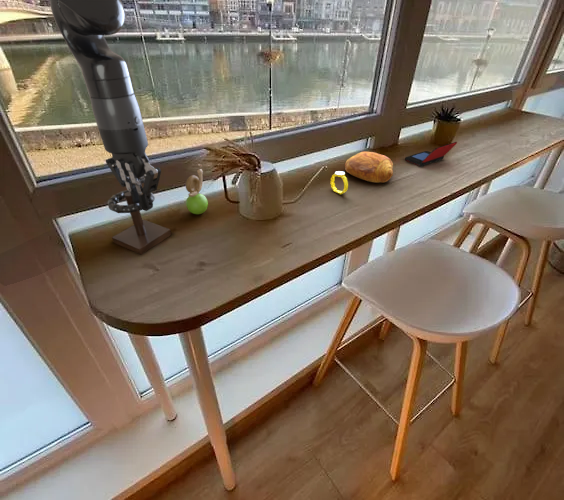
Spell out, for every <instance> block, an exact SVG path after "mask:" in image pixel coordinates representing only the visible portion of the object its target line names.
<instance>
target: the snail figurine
mask: <svg viewBox="0 0 564 500" xmlns="http://www.w3.org/2000/svg"><path fill="white" fill-rule="evenodd" d="M197 167H198V169H197V170H196V171H197V172H196V173H197V175H195V174H192V175H190V176H188V178H187V179H186V181H185V190H186V191H187V192H188V194H187V195H188V197H187V198H186V200H185V205H186V208H187V210H188V212H190V213H191V214H193V215H202V214H203V213H205V212H206V211H207V210H208V207H209V201H208V198H207V197H206V196H205V195H204V194H202V193H200V191H201V190H202V188H203V179H204V178H203V172H204V171H203V168H202V167H203V165H202V164H200V163H197Z"/></svg>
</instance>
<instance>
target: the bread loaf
mask: <svg viewBox="0 0 564 500" xmlns="http://www.w3.org/2000/svg"><path fill="white" fill-rule="evenodd" d="M393 167H394V163H393V161H392V160H391V158H389V157H388V156H386V155H383V154H380V153H377V152H375V151H374V152H373V151H364V150H363V151H361V152H358V153H356V154H354V155H353V156H350V157H349V158H348V159H346V161H345V164H344V169H345V171H346V172H345V173H348V174H349V175H351V176H353V177H355V178H358V179H360V180H363V181H367V182H370V183H386V182H388V181H390V179H391V178H393V176H394V168H393Z"/></svg>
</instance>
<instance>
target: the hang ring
mask: <svg viewBox="0 0 564 500" xmlns="http://www.w3.org/2000/svg"><path fill="white" fill-rule="evenodd" d="M127 192H129V191H128V190H127V189H126V190H122V191H120V192H117V193H115V194H112V196H111V197H110V198H108V200H107V202H106V204H107V207H108V209H109V210H110V211H112V212H115V213H117V214H130V213H132V212H136V211H140V212H141V211H144V210H143V209H142V206H141V203H140V202H139V203H136V204H131V205H127V204H118V203H119V202H121V201H123V200H126V198H125V195H124V194H125V193H127ZM150 195H151V198H152V202H153V203H154V201H155V200H156V197H155V195H154V192H151V193H150Z"/></svg>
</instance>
